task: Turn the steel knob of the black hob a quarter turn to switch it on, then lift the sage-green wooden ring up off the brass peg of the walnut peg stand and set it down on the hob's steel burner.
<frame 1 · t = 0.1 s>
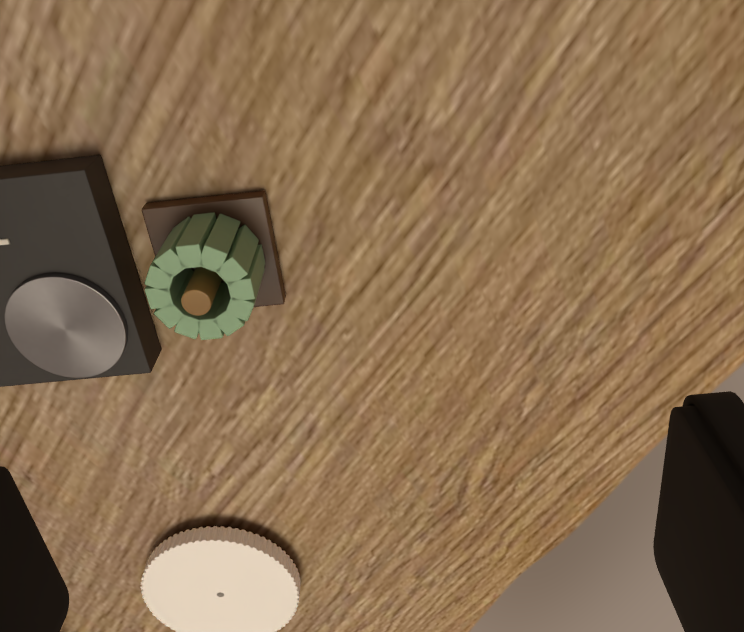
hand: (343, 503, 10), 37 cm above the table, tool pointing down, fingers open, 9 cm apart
ring: (215, 258, 47), point 1 cm above the table, touching peg stand
plastic lid: (225, 569, 65), on the table
hob: (35, 269, 49), on the table
burner: (84, 303, 51), resting on hob
peg stand: (218, 251, 48), on the table
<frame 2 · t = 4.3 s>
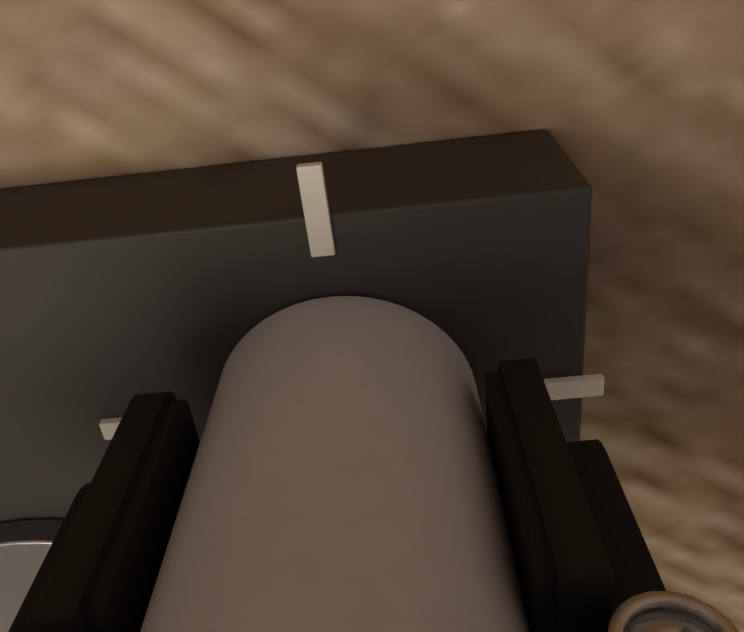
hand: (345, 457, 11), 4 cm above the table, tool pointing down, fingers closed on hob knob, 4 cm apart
hob: (223, 457, 17), on the table
burner: (129, 541, 18), resting on hob
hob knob: (341, 553, 9), point 6 cm above the table, hinge at 0.2°, touching gripper
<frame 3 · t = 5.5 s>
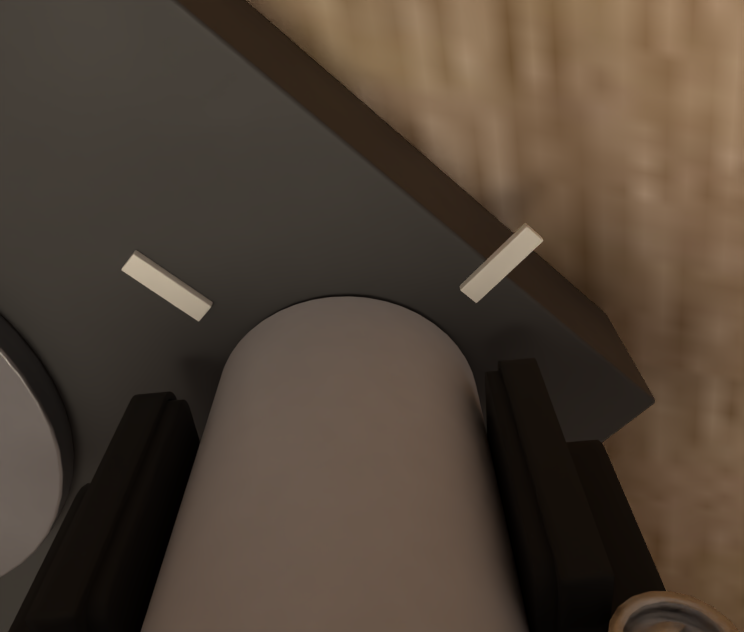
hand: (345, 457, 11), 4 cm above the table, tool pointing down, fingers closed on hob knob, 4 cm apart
hob: (118, 331, 15), on the table
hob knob: (341, 553, 9), point 6 cm above the table, hinge at 47.0°, touching gripper
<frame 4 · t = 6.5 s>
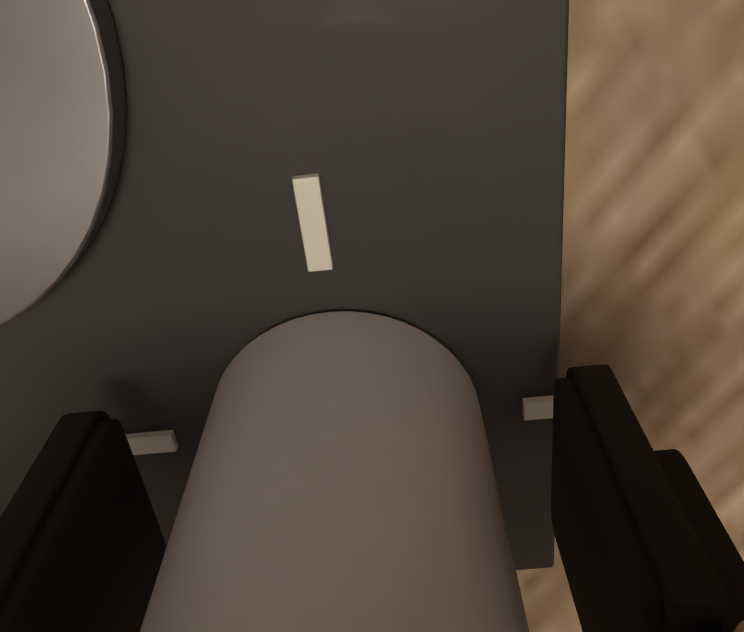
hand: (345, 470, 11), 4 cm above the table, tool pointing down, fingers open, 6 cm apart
hob: (134, 182, 13), on the table
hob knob: (339, 582, 9), point 6 cm above the table, hinge at 89.1°
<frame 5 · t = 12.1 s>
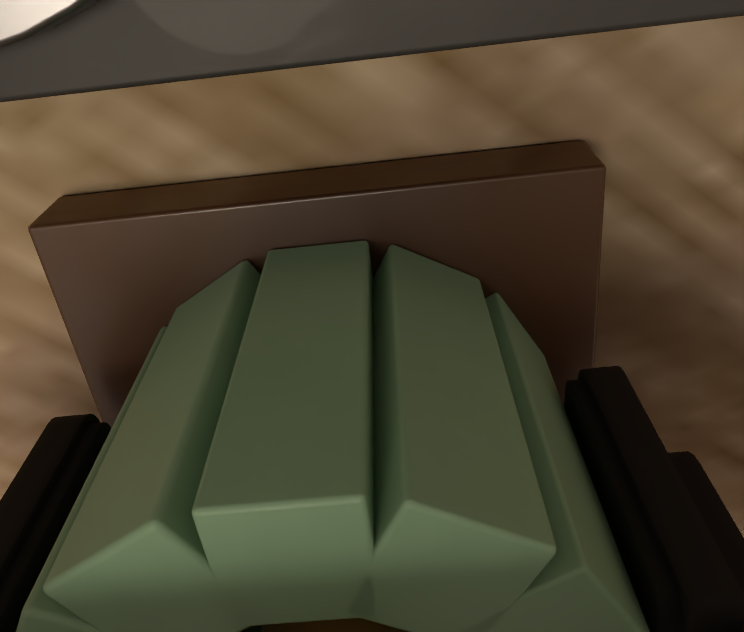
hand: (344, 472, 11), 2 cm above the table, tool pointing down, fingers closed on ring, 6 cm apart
ring: (347, 425, 12), point 1 cm above the table, touching gripper, peg stand
peg stand: (349, 382, 13), on the table
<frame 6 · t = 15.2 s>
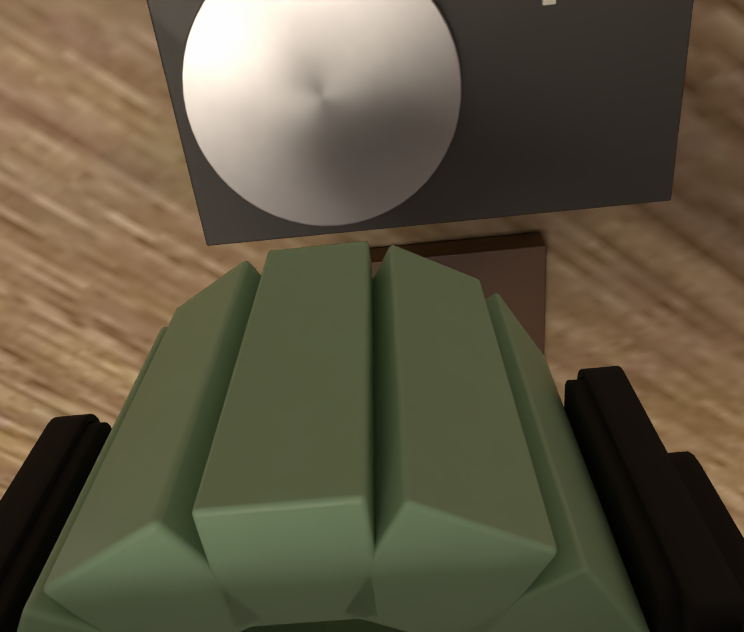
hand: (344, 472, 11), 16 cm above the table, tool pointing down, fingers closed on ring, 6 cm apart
ring: (347, 426, 12), point 15 cm above the table, touching gripper
burner: (328, 71, 23), resting on hob
peg stand: (438, 332, 28), on the table
when the fingers open (5 cm above the table, at t = 18.5 s): ring stays where it is, resting on burner.
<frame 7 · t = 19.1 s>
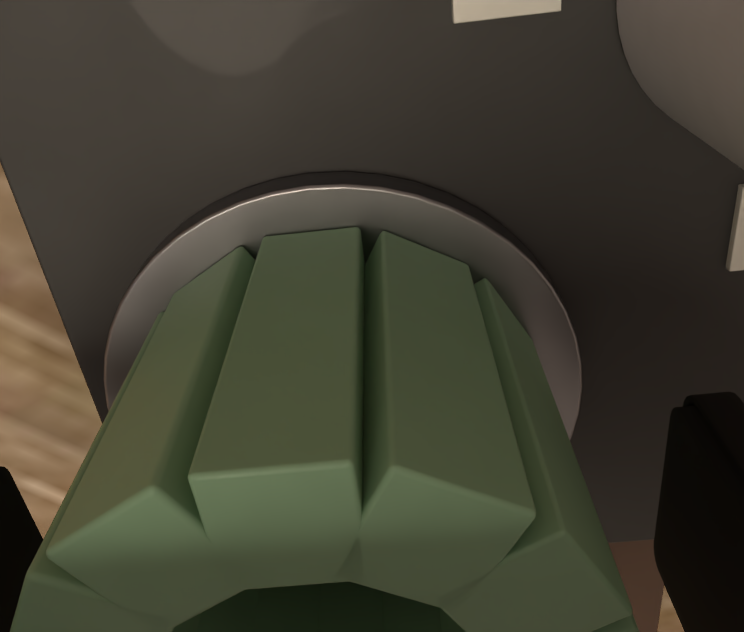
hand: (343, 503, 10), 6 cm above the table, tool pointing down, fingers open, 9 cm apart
ring: (340, 409, 12), point 4 cm above the table, touching burner
hob: (487, 178, 14), on the table
burner: (349, 305, 15), resting on hob
peg stand: (499, 612, 20), on the table
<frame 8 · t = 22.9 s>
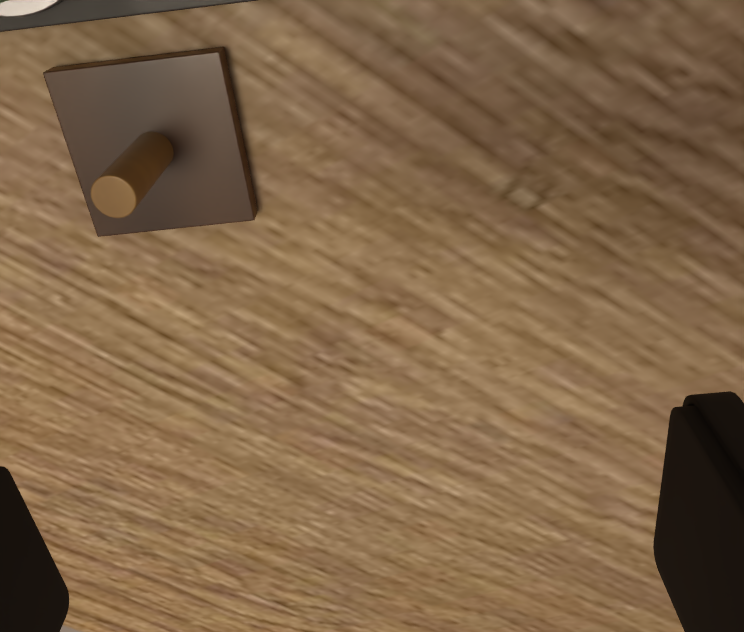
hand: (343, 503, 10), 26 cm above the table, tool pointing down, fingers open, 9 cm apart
peg stand: (160, 143, 34), on the table
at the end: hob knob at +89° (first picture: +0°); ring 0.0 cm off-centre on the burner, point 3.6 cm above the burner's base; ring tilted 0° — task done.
